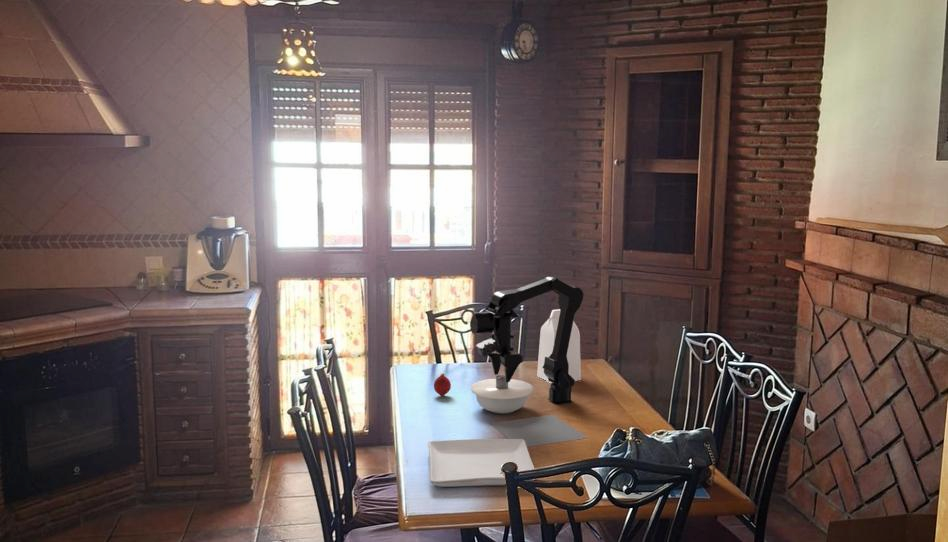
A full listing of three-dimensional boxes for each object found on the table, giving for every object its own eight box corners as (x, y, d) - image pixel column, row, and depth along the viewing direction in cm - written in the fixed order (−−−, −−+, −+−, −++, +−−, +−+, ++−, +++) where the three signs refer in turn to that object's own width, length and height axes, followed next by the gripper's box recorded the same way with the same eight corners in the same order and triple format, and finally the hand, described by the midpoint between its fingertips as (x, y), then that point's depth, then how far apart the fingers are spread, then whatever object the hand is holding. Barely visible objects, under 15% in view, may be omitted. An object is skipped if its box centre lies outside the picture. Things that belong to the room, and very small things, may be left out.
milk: (565, 373, 310) (566, 305, 305) (580, 381, 299) (582, 311, 295) (536, 376, 305) (538, 308, 301) (552, 385, 294) (553, 314, 290)
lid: (516, 378, 278) (517, 365, 277) (543, 395, 260) (543, 382, 259) (462, 384, 271) (462, 371, 270) (485, 402, 252) (485, 388, 252)
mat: (553, 415, 261) (553, 414, 261) (587, 439, 241) (587, 437, 241) (489, 424, 253) (489, 423, 253) (520, 449, 233) (520, 447, 233)
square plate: (427, 452, 231) (427, 439, 231) (524, 450, 233) (524, 437, 233) (429, 493, 204) (429, 478, 204) (538, 490, 206) (538, 476, 206)
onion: (448, 399, 277) (448, 376, 276) (432, 398, 279) (431, 375, 277) (452, 394, 283) (452, 371, 282) (436, 393, 284) (436, 370, 283)
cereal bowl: (495, 399, 278) (495, 379, 277) (537, 408, 268) (537, 387, 267) (465, 412, 264) (465, 391, 263) (508, 422, 255) (509, 400, 254)
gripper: (468, 326, 268) (468, 373, 270) (490, 339, 251) (490, 389, 253) (499, 324, 272) (499, 369, 274) (523, 336, 255) (522, 385, 257)
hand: (501, 378), depth 265 cm, fingers open, 9 cm apart
